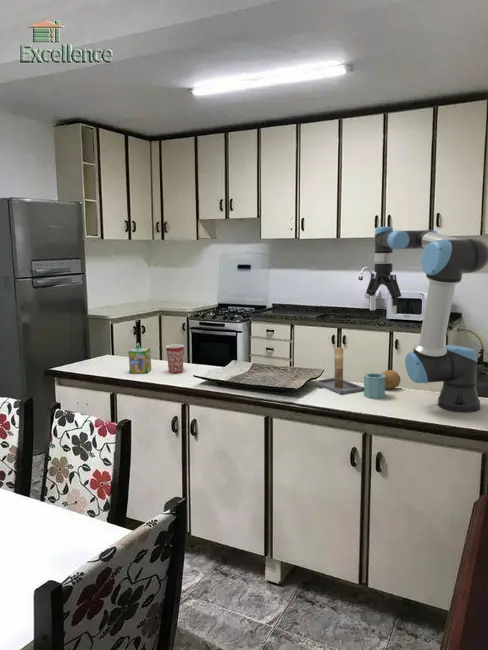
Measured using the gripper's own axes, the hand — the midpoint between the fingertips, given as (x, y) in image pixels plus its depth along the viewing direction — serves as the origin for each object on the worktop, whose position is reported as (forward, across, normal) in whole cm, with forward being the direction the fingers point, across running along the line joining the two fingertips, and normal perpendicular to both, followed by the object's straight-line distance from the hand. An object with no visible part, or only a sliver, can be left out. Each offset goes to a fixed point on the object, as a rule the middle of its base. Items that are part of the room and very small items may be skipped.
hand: (382, 311), depth 231 cm
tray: (+33, +2, +22) cm, 39 cm away
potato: (+33, -8, +3) cm, 34 cm away
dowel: (+31, +2, +22) cm, 38 cm away
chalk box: (+33, +80, +89) cm, 125 cm away
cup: (+33, -16, +17) cm, 40 cm away
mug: (+33, +71, +72) cm, 107 cm away
